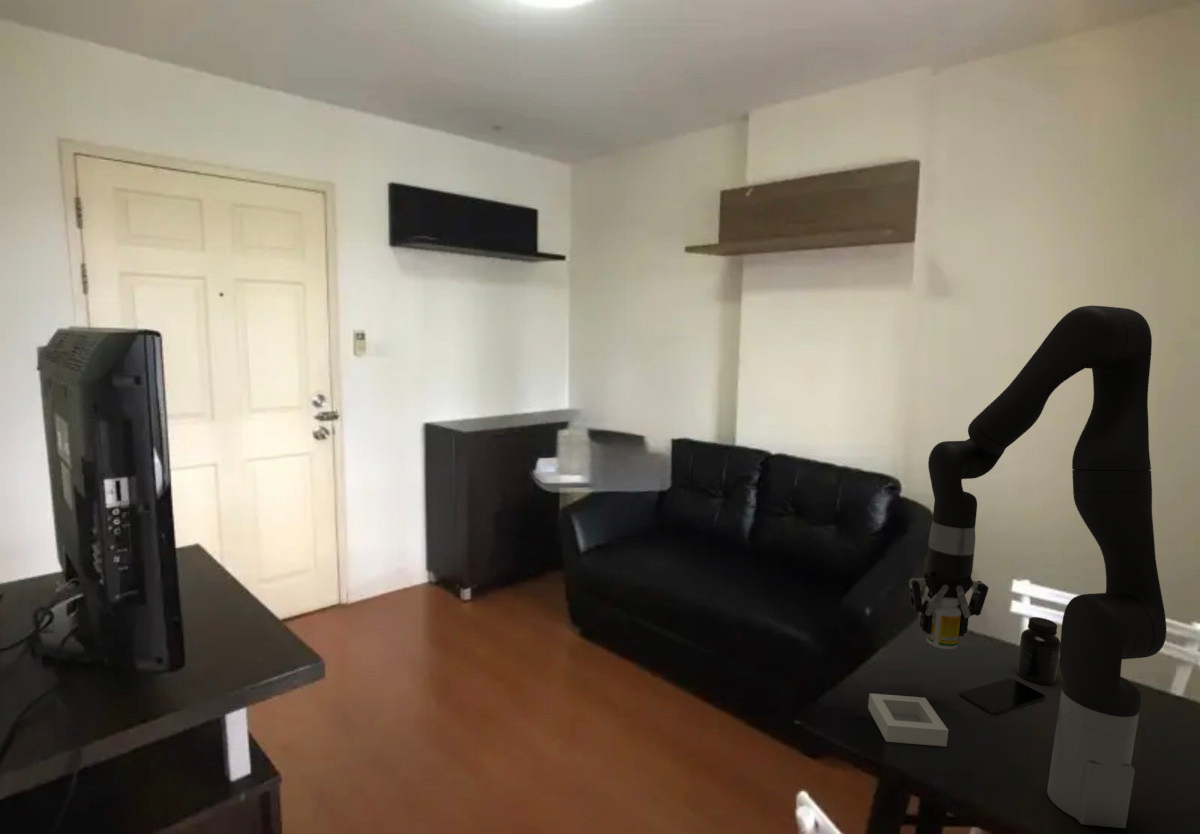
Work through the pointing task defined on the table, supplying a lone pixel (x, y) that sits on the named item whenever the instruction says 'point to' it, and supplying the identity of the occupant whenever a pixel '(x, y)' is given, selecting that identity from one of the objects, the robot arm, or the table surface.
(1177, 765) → the table surface
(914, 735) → the socket plate
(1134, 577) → the robot arm
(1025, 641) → the supplement bottle
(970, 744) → the table surface
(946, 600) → the supplement bottle
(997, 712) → the smartphone
